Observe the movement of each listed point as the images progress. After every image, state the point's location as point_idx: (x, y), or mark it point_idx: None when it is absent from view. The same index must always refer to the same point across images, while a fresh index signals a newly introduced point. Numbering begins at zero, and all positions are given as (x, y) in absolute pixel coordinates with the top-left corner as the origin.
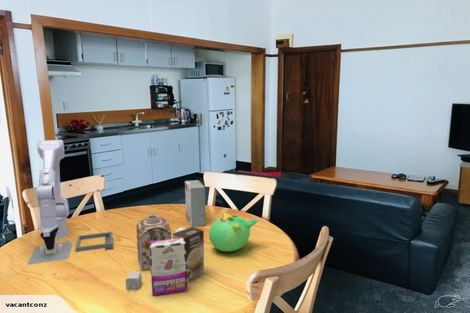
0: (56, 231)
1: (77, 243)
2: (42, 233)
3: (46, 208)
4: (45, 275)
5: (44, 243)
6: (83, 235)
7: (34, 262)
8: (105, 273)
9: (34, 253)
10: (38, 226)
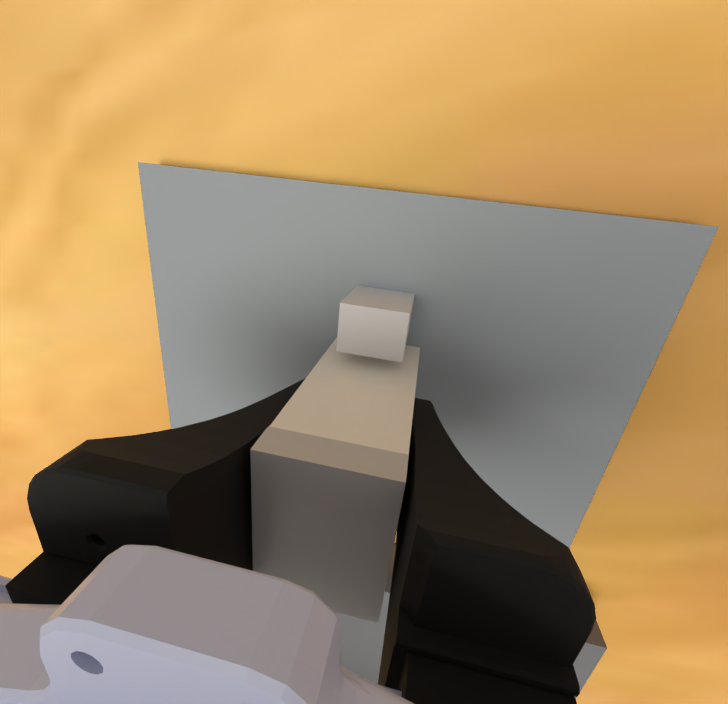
0: (381, 666)
1: (385, 598)
2: (116, 516)
3: None
4: (3, 320)
5: (296, 391)
6: (580, 674)
7: (173, 237)
8: (13, 570)
9: (427, 220)
10: (218, 680)
